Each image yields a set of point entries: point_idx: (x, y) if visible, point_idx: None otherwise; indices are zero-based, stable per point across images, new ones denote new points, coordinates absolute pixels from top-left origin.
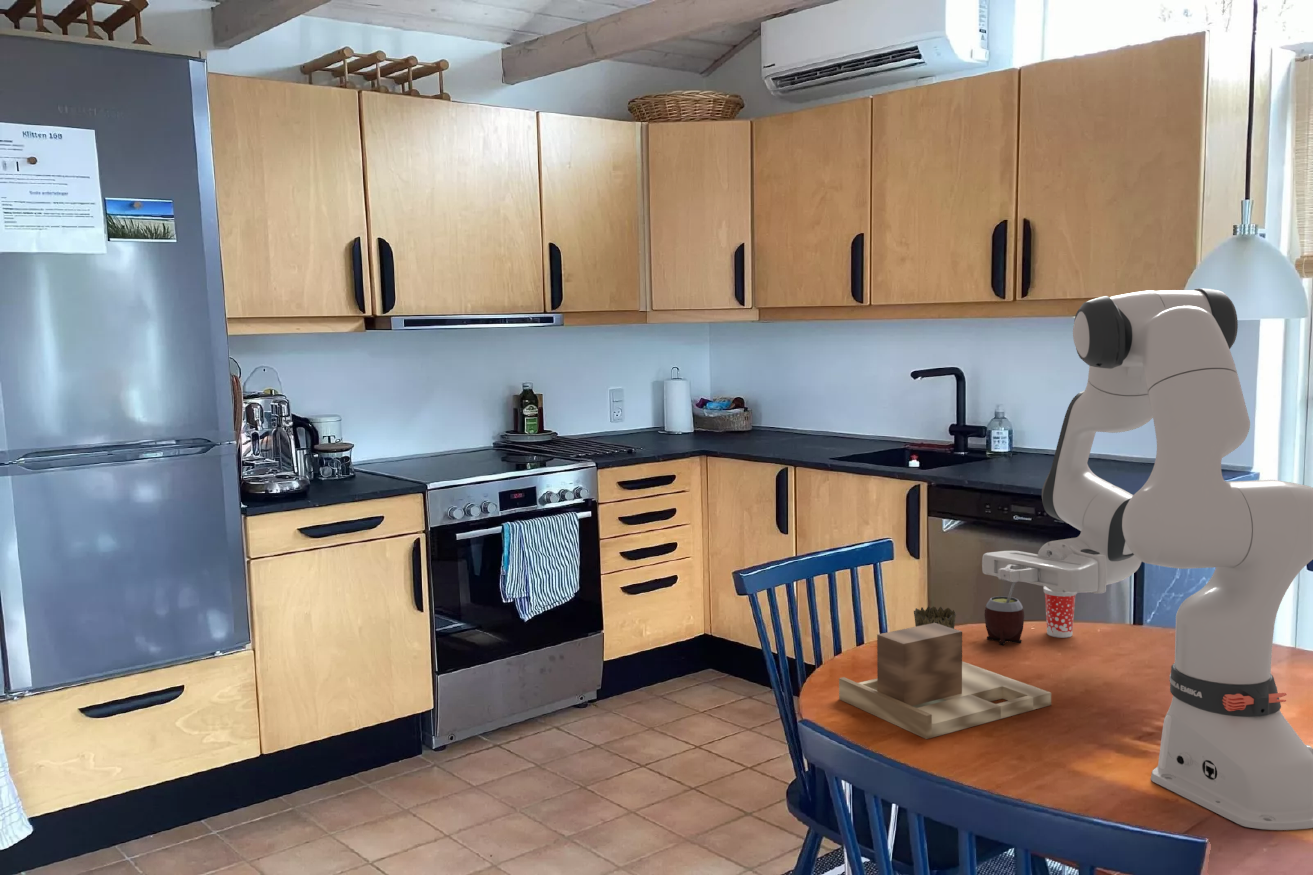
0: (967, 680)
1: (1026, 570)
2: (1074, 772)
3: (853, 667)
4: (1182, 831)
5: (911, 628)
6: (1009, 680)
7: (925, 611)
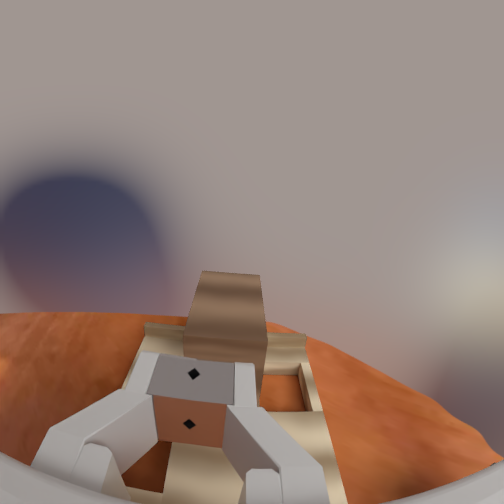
0: (231, 474)
1: (84, 414)
2: (4, 354)
3: (413, 415)
4: None
5: (258, 305)
6: None
7: None
